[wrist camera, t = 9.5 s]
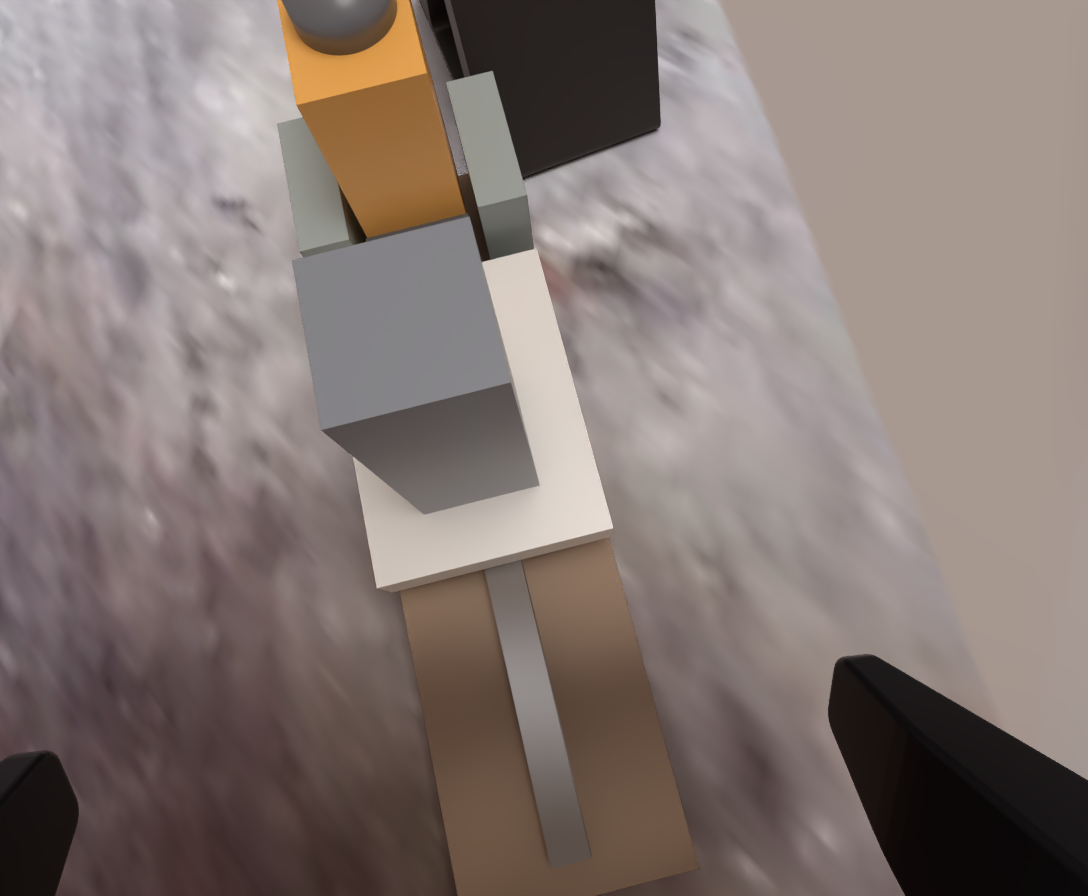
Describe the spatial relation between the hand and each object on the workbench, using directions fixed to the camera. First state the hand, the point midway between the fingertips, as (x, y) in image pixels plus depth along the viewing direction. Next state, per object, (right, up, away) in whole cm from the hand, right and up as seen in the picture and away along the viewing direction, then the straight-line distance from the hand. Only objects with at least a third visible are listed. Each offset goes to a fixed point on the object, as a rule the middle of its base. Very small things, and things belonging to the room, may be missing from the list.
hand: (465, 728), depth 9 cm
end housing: (-3, +10, +15) cm, 18 cm away
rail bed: (-1, +1, +14) cm, 14 cm away
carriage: (-1, +4, +12) cm, 13 cm away
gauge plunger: (-3, +10, +14) cm, 18 cm away
